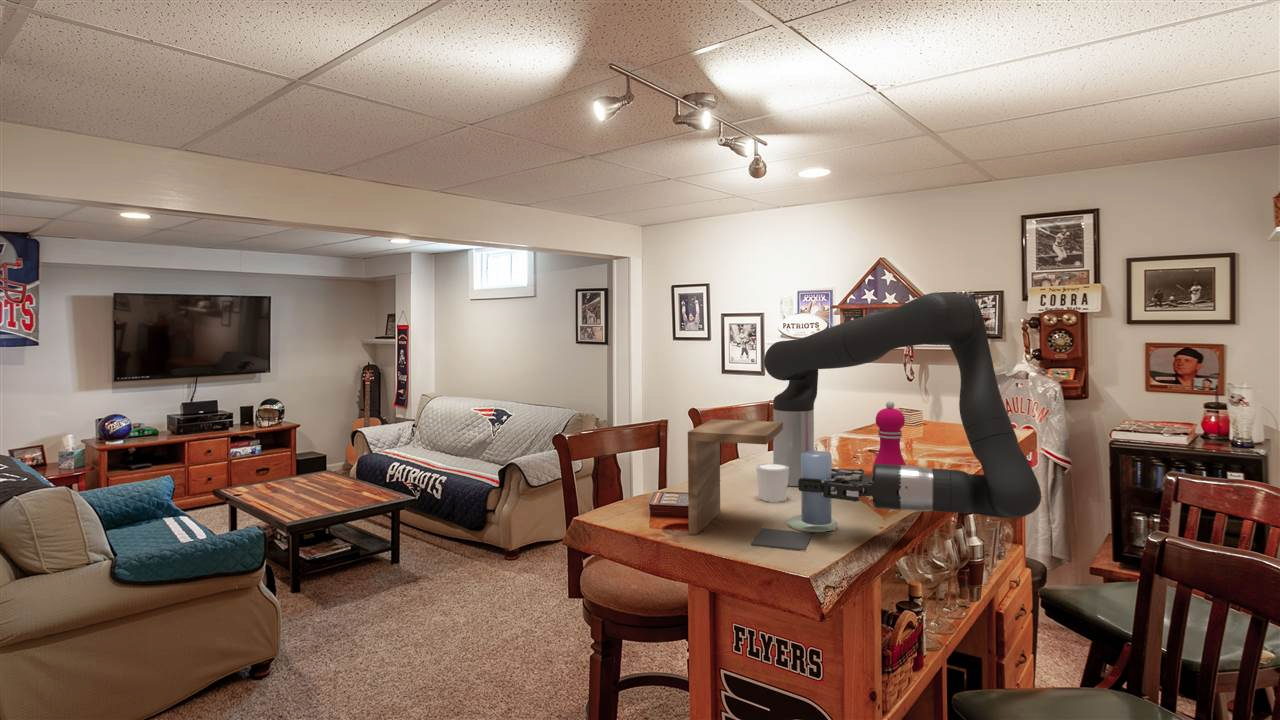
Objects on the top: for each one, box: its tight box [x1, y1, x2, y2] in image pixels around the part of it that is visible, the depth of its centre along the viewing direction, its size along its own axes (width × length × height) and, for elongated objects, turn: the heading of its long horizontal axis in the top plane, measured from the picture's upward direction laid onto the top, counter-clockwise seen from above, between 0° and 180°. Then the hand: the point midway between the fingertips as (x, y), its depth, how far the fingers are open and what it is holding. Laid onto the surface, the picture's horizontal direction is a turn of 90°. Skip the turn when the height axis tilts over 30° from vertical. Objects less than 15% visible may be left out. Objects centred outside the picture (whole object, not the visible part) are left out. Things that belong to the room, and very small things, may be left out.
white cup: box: [755, 463, 789, 503], centre depth 142 cm, size 7×7×7 cm
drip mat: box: [750, 527, 813, 551], centre depth 116 cm, size 9×9×1 cm
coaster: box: [787, 514, 839, 533], centre depth 124 cm, size 9×9×1 cm
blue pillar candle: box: [800, 450, 833, 525], centre depth 118 cm, size 5×5×12 cm
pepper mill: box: [871, 400, 907, 474], centre depth 146 cm, size 7×7×20 cm
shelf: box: [687, 418, 783, 536], centre depth 124 cm, size 14×16×18 cm
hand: (801, 480), depth 119 cm, fingers closed on blue pillar candle, 5 cm apart
